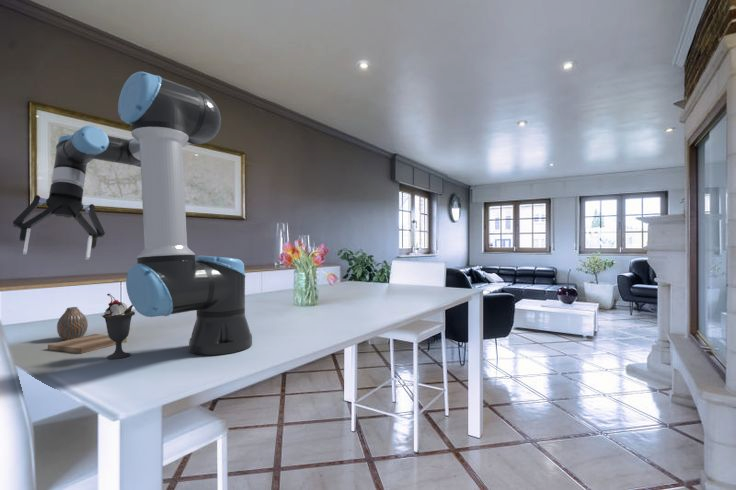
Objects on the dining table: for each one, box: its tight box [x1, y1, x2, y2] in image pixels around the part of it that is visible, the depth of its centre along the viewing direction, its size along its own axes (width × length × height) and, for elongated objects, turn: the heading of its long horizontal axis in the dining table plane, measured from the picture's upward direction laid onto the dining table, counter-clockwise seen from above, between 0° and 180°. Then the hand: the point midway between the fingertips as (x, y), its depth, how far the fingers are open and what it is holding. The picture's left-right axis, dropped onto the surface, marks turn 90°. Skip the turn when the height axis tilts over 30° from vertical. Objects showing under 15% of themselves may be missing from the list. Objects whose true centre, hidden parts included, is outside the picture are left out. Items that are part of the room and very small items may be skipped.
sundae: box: [101, 293, 136, 360], centre depth 91 cm, size 7×7×15 cm
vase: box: [56, 306, 89, 341], centre depth 108 cm, size 7×7×9 cm
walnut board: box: [47, 333, 128, 354], centre depth 101 cm, size 12×12×1 cm
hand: (57, 256), depth 106 cm, fingers open, 13 cm apart
